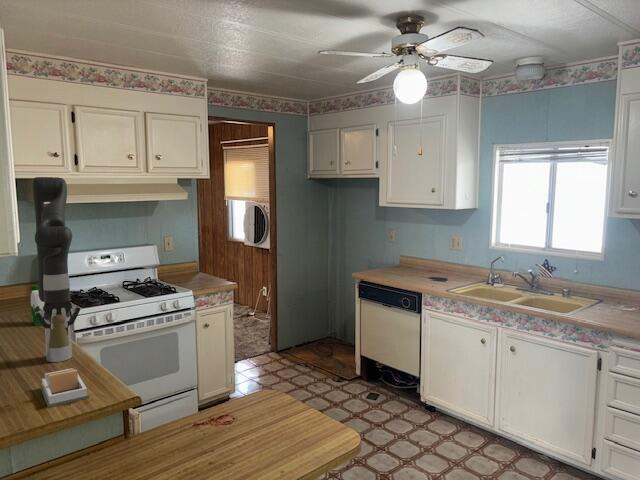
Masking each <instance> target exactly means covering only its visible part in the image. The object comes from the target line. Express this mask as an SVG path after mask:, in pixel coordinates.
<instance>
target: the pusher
mask: <svg viewBox="0 0 640 480" xmlns="http://www.w3.org/2000/svg"><path fill="white" fill-rule="evenodd" d="M77 373H78V370H77V369H74V370H71V371H66V372H61V373H56V374H51V375H49V386H50V391H51V393H56V392H60V391H65V390H69V389H74V388H78V375H79V373H78V374H77Z"/></svg>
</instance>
